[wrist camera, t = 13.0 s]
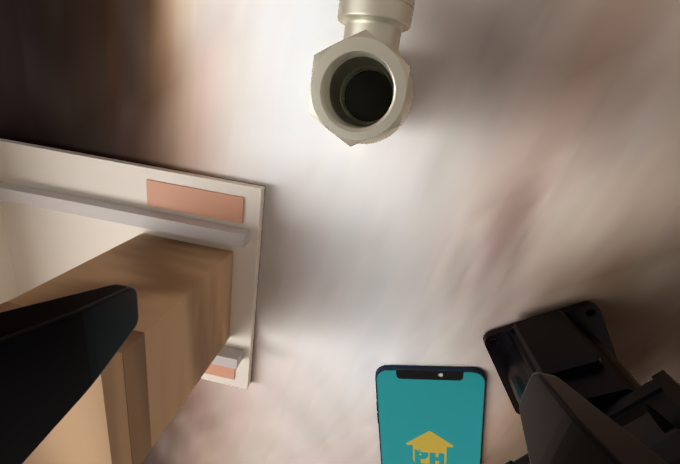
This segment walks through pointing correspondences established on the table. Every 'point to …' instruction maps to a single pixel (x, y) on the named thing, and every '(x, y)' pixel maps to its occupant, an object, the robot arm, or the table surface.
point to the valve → (363, 68)
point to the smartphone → (430, 414)
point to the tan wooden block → (142, 346)
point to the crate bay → (126, 226)
